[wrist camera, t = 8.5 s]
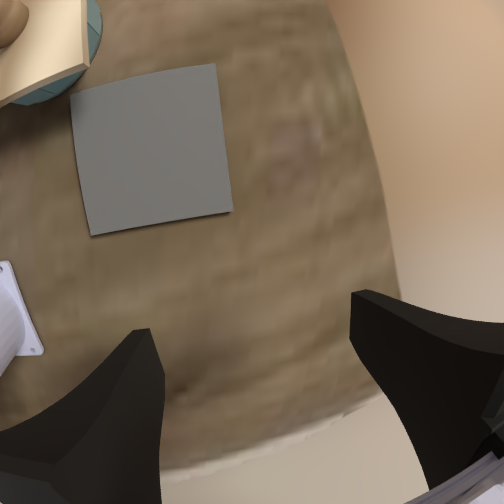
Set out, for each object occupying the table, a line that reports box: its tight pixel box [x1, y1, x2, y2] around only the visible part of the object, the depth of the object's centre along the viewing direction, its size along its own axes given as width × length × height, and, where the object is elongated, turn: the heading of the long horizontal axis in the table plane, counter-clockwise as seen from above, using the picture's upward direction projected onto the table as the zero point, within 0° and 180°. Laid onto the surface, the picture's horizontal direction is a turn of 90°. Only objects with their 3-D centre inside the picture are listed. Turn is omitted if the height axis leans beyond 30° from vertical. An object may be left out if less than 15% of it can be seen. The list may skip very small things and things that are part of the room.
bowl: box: [10, 0, 103, 106], centre depth 11 cm, size 8×8×4 cm
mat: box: [70, 63, 233, 236], centre depth 17 cm, size 9×9×1 cm
